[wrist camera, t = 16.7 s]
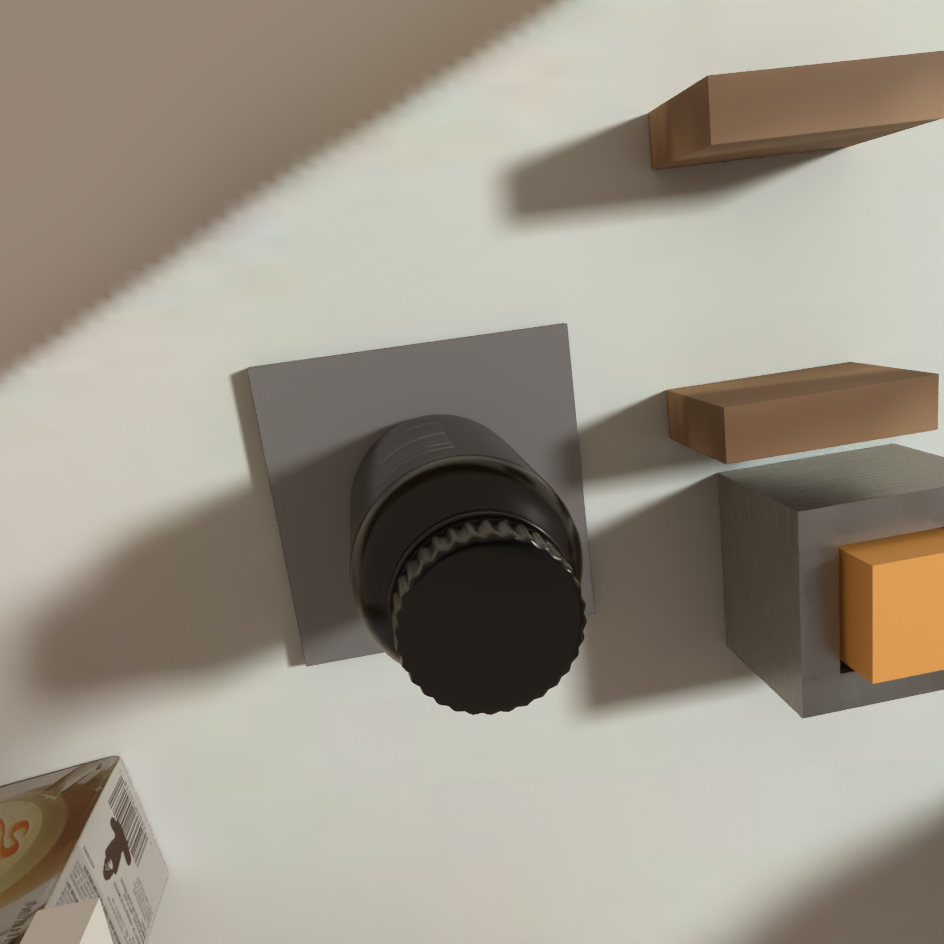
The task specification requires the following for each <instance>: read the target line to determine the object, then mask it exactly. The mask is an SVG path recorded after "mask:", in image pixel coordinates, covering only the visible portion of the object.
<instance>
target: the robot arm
mask: <svg viewBox="0 0 944 944" xmlns="http://www.w3.org/2000/svg"><path fill="white" fill-rule="evenodd" d="M20 944H113V941H112V938H111V935H110V931H109V928H108V925H107V921H106V918H105V914H104V911H103V908H102V904H101V901H100V898H96V899H91V900H86V901H81V902H77V903H72V904H67V905H62V906H58V907H53V908H48V909H43V910H39V911H37V912H36V914H35V916H34V918H33V920H32V922H31V923H30V925H29V927H28V929H27V931H26V933H25V935H24V937H23V939H22V941H21V942H20Z"/></svg>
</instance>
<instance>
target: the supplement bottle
mask: <svg viewBox="0 0 944 944" xmlns="http://www.w3.org/2000/svg"><path fill="white" fill-rule="evenodd" d="M582 578H583V551H582V544H581V540H580V535H579V532H578V529H577V526H576V524H575V522H574V519H573V517H572V515H571V513H570V512H569V510H568V508H567V507H566V505H565V504H564V502H563V501H562V500H561V498H560V497H559V496H558V494H557V493H556V492H555V491H554V490H553V489H552V487H551V486H550V485H549V484H548V483H547V482H546V481H545V480H544V479H543V478H542V477H541V476H540V475H539V474H538V473H537V472H536V471H535V470H534V469H533V468H532V467H531V466H530V465H529V464H528V463H527V462H526V461H525V460H524V459H523V458H522V457H521V456H520V455H519V454H518V453H516V452H515V451H514V450H513V449H512V448H511V447H510V446H509V445H508V444H507V443H506V442H505V441H504V440H503V439H502V438H501V437H499V436H498V435H497V434H496V433H495V432H493V431H492V430H490V429H489V428H487V427H486V426H484V425H482V424H480V423H478V422H476V421H473V420H471V419H468V418H465V417H460V416H456V415H448V414H434V415H426V416H420V417H417V418H413V419H410V420H408V421H405V422H403V423H401V424H399V425H397V426H395V427H393V428H392V429H390V430H389V431H387V432H386V433H385V434H383V435H382V436H381V437H380V438H379V439H378V440H377V441H376V442H375V443H374V444H373V445H372V446H371V447H370V448H369V450H368V451H367V453H366V454H365V455H364V457H363V459H362V461H361V462H360V464H359V467H358V469H357V471H356V474H355V477H354V480H353V484H352V488H351V496H350V579H351V588H352V593H353V598H354V602H355V606H356V609H357V612H358V614H359V616H360V619H361V621H362V623H363V625H364V626H365V628H366V630H367V632H368V633H369V634H370V636H371V637H372V639H373V640H374V641H375V642H376V643H377V645H378V646H379V647H380V648H381V649H382V650H383V651H384V652H385V653H386V654H387V655H389V656H390V657H391V658H392V659H394V660H395V661H396V662H398V663H400V664H401V665H402V667H403V668H404V669H405V670H406V671H407V672H409V676H410V680H411V681H412V682H413V683H414V684H416V685H418V686H420V688H421V690H422V692H423V693H424V694H425V695H427V696H430V697H433V698H434V699H435V701H436V702H437V703H438V704H440V705H446V706H449V707H451V709H453V710H454V711H466V712H468V713H470V714H472V715H474V714H479V713H485V714H490V715H492V714H495V713H497V712H499V711H504V712H510V711H511V710H513V709H514V708H516V707H520V706H527V705H528V704H529V703H530V702H532V701H533V700H534V699H537V698H540V697H543V696H544V695H545V694H546V692H547V691H548V689H550V688H553V687H555V686H556V685H557V684H558V683H559V681H560V679H561V677H562V676H564V675H565V674H566V673H568V672H569V670H570V667H571V663H572V662H573V661H574V660H575V659H576V658H577V656H578V654H579V646H580V645H581V643H582V642H583V640H584V633H583V630H584V627H585V625H586V622H587V620H586V617H585V615H584V611H585V606H586V603H585V600H584V599H583V597H582V596H581V584H582Z"/></svg>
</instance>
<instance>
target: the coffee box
mask: <svg viewBox="0 0 944 944" xmlns="http://www.w3.org/2000/svg"><path fill="white" fill-rule="evenodd" d="M167 878H168V871H167V867H166V864H165V862H164V860H163V857H162V855H161V852H160V850H159V848H158V845H157V843H156V840H155V838H154V836H153V833H152V831H151V829H150V826H149V824H148V821H147V819H146V817H145V814H144V812H143V809H142V807H141V804H140V802H139V800H138V797H137V795H136V793H135V790H134V788H133V785H132V783H131V780H130V778H129V776H128V773H127V771H126V769H125V766H124V764H123V761H122V759H121V758H120V757H119V756H113V757H109V758H105V759H101V760H98V761H94V762H91V763H87V764H83V765H79V766H76V767H72V768H69V769H65V770H61V771H58V772H54V773H51V774H47V775H44V776H40V777H37V778H33V779H30V780H26V781H22V782H18V783H15V784H11V785H7V786H4V787H0V944H20V942H21V941H22V939H23V937H24V935H25V933H26V931H27V929H28V927H29V925H30V923H31V922H32V920H33V918H34V916H35V914H36V912H37V911H39V910H43V909H48V908H53V907H58V906H62V905H67V904H72V903H77V902H81V901H86V900H91V899H96V898H100V901H101V904H102V908H103V911H104V914H105V918H106V921H107V925H108V928H109V931H110V935H111V938H112V941H113V944H147V942H148V938H149V935H150V931H151V928H152V925H153V922H154V919H155V916H156V912H157V909H158V906H159V904H160V901H161V898H162V894H163V891H164V888H165V885H166V881H167Z"/></svg>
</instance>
